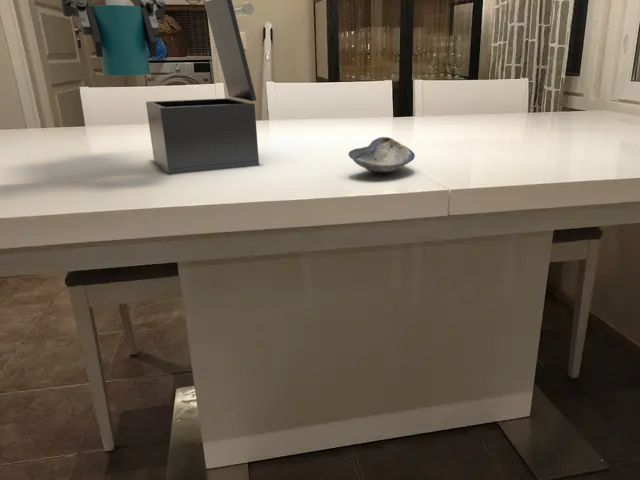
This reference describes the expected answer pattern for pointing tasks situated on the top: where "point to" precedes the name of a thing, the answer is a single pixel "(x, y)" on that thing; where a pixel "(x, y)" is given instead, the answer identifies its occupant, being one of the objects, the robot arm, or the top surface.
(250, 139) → the black box
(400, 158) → the seashell
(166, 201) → the top surface
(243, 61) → the box lid
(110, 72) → the detergent bottle
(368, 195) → the top surface
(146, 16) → the robot arm
